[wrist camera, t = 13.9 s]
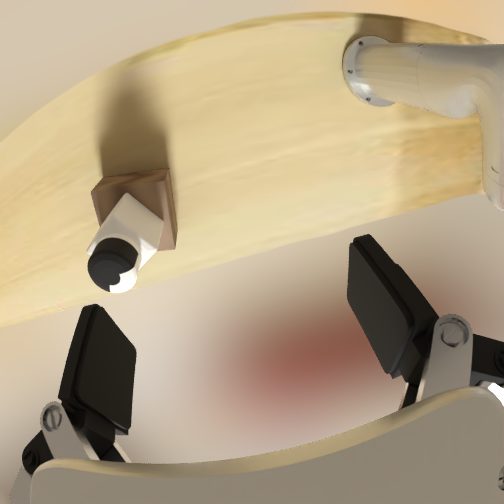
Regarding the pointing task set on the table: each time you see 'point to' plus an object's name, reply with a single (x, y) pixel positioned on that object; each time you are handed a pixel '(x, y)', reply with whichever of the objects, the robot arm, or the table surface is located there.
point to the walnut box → (140, 199)
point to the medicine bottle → (123, 245)
